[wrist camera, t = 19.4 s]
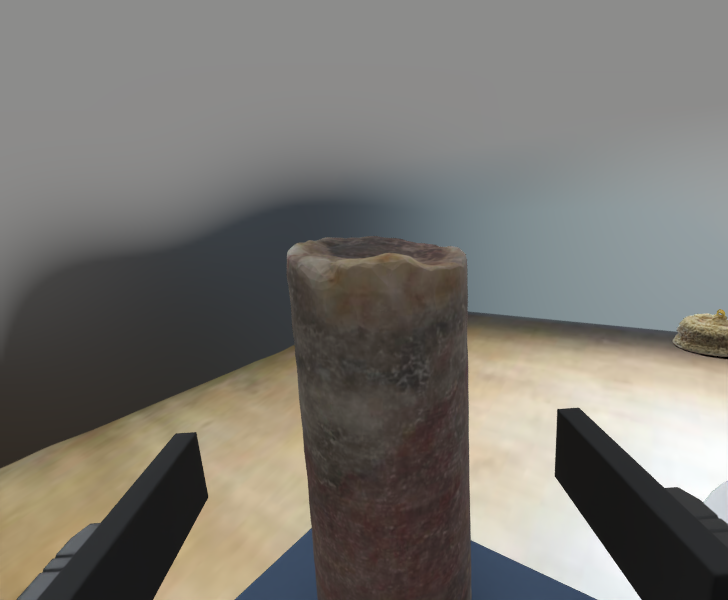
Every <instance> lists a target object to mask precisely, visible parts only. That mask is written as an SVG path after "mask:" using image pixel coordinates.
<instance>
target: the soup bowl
mask: <svg viewBox="0 0 728 600" xmlns="http://www.w3.org/2000/svg"><path fill="white" fill-rule="evenodd" d="M703 503H704V504H705V505H706V506H708V507H709V508H710V509H711V510H712V511H713V512H714V513H716V514H717V515H718V518H719V519H720V518H721V519H722V520H724V521H725V522H726V523H727V524H728V481H726V482H724V483H722V484H721V485H720V486H719V487H717V488H716V489H715V490H713V491H712V492H711V493H710V495H709V496H708V497H707V498H706V499H705V501H704V502H703Z"/></svg>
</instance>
